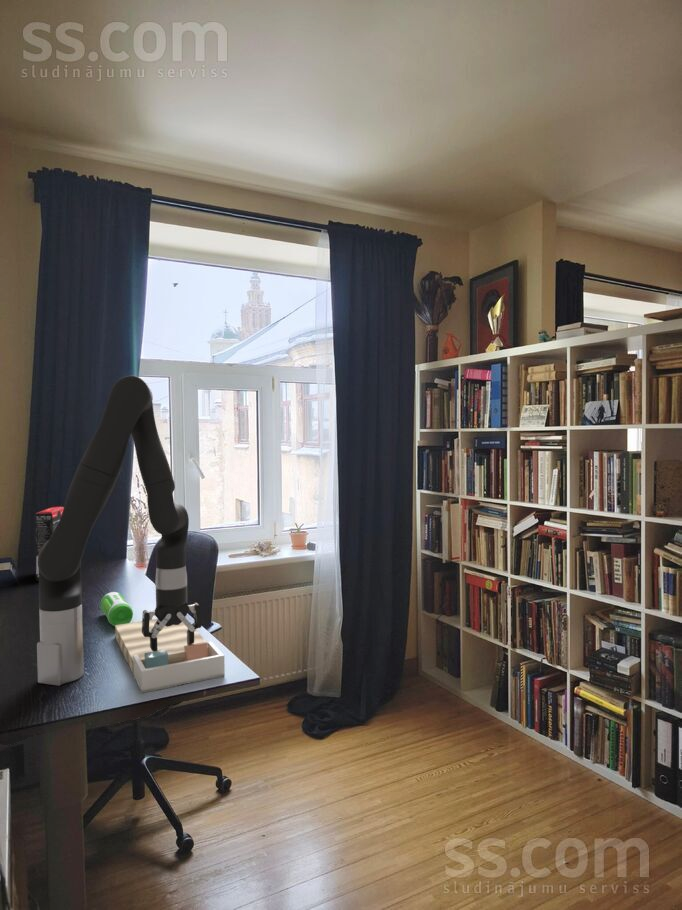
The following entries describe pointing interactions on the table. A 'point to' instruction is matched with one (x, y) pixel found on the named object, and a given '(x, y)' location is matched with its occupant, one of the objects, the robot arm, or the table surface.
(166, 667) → the box
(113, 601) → the speaker
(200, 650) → the terracotta tile
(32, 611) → the table surface
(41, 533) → the graphics card box
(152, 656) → the teal tile
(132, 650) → the wooden tray board
